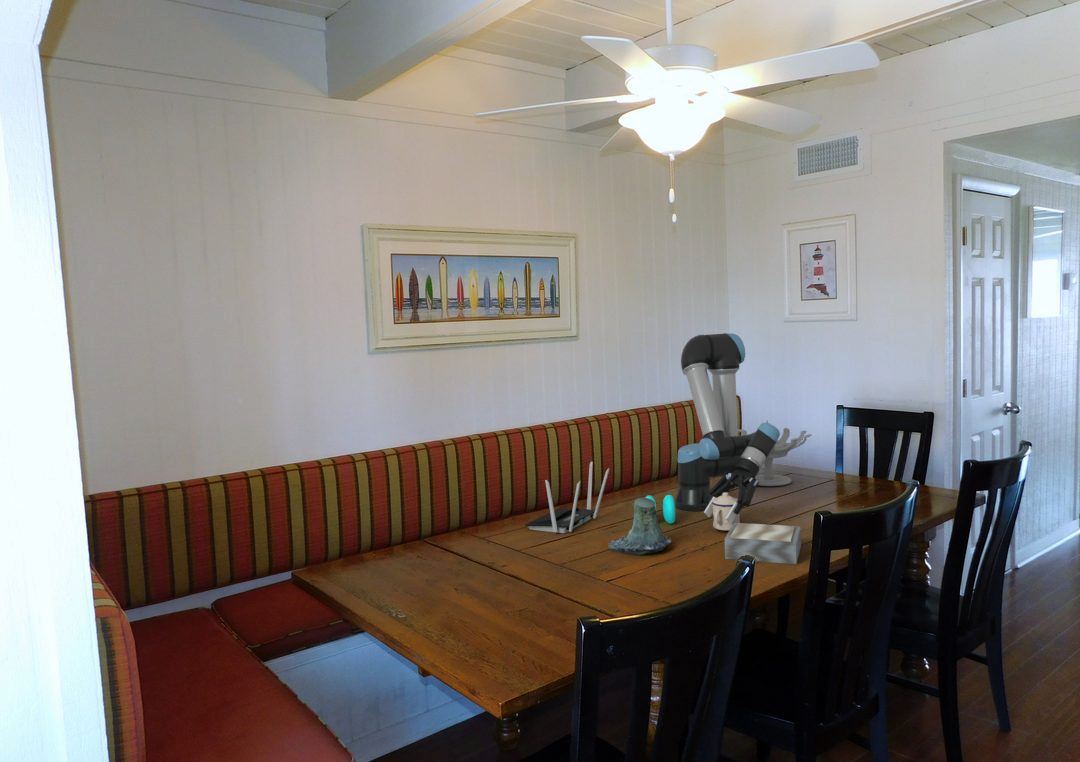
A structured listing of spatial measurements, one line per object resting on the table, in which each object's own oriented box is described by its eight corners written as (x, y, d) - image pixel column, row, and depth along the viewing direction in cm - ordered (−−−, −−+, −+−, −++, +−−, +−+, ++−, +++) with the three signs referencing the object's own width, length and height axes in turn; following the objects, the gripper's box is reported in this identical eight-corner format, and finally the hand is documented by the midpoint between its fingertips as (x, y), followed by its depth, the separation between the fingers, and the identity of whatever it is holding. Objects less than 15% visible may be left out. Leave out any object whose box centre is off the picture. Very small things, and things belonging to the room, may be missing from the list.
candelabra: (830, 486, 309) (828, 420, 307) (753, 495, 300) (751, 427, 298) (782, 471, 342) (780, 411, 340) (712, 479, 333) (710, 417, 331)
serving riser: (725, 558, 224) (724, 537, 223) (734, 541, 240) (733, 521, 240) (796, 564, 216) (795, 541, 216) (800, 545, 233) (800, 525, 232)
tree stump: (650, 536, 253) (657, 484, 248) (681, 568, 234) (689, 513, 229) (597, 541, 247) (603, 488, 241) (625, 575, 228) (632, 518, 222)
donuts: (676, 526, 261) (675, 498, 260) (647, 527, 261) (645, 499, 261) (673, 519, 271) (672, 491, 270) (644, 520, 271) (643, 492, 271)
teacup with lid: (720, 521, 259) (719, 488, 258) (745, 525, 253) (744, 491, 252) (703, 530, 250) (702, 496, 249) (729, 535, 244) (728, 499, 243)
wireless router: (563, 511, 290) (561, 459, 288) (618, 516, 278) (616, 463, 276) (516, 534, 261) (513, 477, 259) (575, 541, 249) (572, 481, 247)
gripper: (781, 475, 250) (748, 531, 243) (731, 465, 268) (699, 517, 261) (769, 461, 246) (736, 518, 239) (720, 452, 265) (688, 505, 258)
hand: (717, 517), depth 250 cm, fingers closed on teacup with lid, 9 cm apart
